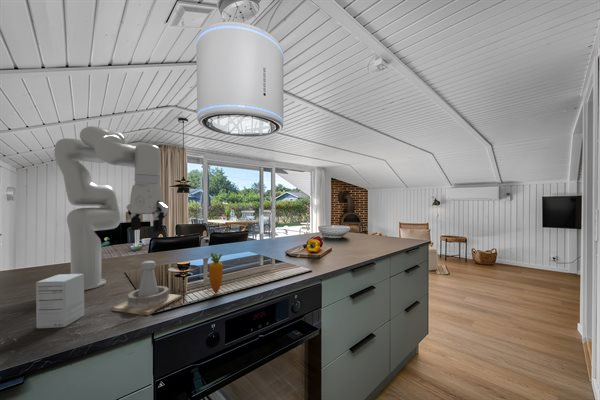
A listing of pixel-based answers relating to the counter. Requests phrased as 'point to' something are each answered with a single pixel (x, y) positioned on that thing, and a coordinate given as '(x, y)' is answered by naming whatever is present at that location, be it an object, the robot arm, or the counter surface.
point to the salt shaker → (148, 280)
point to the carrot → (215, 272)
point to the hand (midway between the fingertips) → (146, 230)
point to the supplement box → (59, 300)
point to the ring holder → (146, 302)
